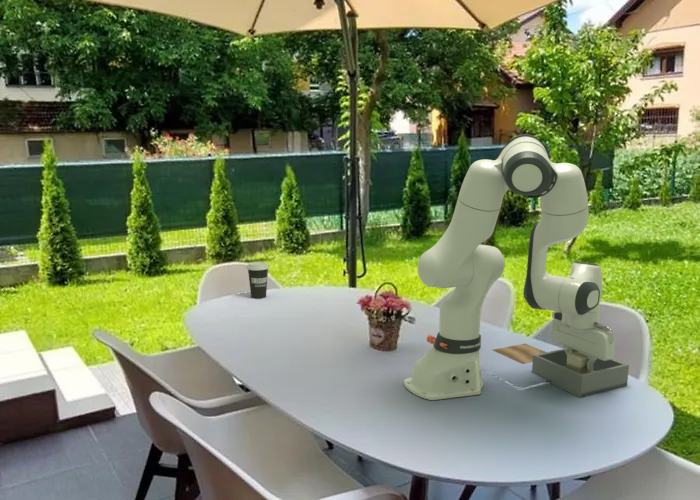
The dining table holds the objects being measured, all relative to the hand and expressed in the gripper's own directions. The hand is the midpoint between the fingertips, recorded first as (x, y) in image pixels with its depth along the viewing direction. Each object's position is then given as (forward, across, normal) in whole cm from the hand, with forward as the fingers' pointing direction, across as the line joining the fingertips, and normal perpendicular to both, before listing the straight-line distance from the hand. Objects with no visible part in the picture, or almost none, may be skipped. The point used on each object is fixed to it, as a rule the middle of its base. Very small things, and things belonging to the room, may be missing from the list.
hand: (579, 365), depth 170 cm
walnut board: (+4, +22, 0) cm, 22 cm away
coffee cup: (+5, +132, +51) cm, 142 cm away
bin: (+4, 0, 0) cm, 4 cm away
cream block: (+2, 0, 0) cm, 2 cm away
